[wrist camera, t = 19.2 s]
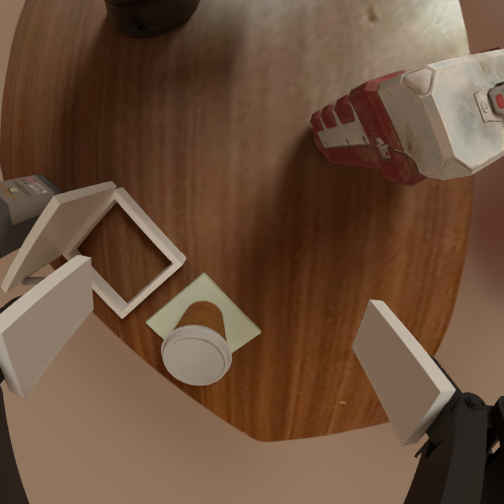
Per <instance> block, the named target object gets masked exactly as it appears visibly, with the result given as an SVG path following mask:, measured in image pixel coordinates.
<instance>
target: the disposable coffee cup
mask: <svg viewBox="0 0 504 504" xmlns="http://www.w3.org/2000/svg"><path fill="white" fill-rule="evenodd" d="M161 354H162V358H163V362H164V365H165V367H166V369H167V370H168V372H169V373H170V374H171V375H172V376H173V377H175V378H176V379H178V380H179V381H182V382H184V383H187V384H190V385H198V386H202V385H209V384H212V383H214V382H216V381H218V380H219V379H221V378H222V377H223V375H224V374H225V373H226V372H227V371H228V369H229V367H230V365H231V361H232V354H231V350H230V348H229V345H228V343H227V340H226V334H225V327H224V321H223V314H222V312H221V310H220V309H219V308H218V306H216V305H215V304H213V303H211V302H208V301H197V302H194V303H192V304H191V305H190V306H189V307H188V308H187V310H186V311H185V313H184V314H183V316H182V317H181V319H180V320H179V322H178V324H177V325H176V327H175V328H174V330H173V331H172V332H170V333H169V334H168V335H167V336H166V337H165V339H164V341H163V343H162V347H161Z"/></svg>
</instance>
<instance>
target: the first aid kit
mask: <svg viewBox="0 0 504 504" xmlns="http://www.w3.org/2000/svg"><path fill="white" fill-rule="evenodd" d="M309 124H310V126H311V128H312V129H311V131H312V133H313V139H314V141H315V143H316V145H317V147H318V149H319V151H320V152H321V153H323V155H324V157H325V158H326V159H327V160H328V162H329V163H331V164H336V165H346V166H355V167H364V168H372V169H380V170H381V171H382V173H383V176H384V178H385V179H386V180H388V181H390V182H393V183H399V184H404V185H409V186H413V185H415V184H417V183H419V182H421V181H423V180H424V179H426V178H428V177H431V178H436V179H441V180H447V179H452V178H458V177H464V176H470V175H472V174H474V173H476V172H477V171H479V170H481V169H482V168H484V167H485V166H487V165H489V164H491V163H492V162H494V161H496V160H497V159H499V158H500V157H502V156H504V47H498V48H494V49H490V50H487V51H483V52H480V53H479V54H474V55H470V54H469V55H464V56H460V57H456V58H451V59H447V60H443V61H440V62H436V63H432V64H428V65H425V66H422V67H419V68H416V69H414V70H411V71H408V72H406V71H404V70H401V71H397V72H394V73H391V74H388V75H385V76H382V77H379V78H376V79H373V80H370V81H367V82H366V83H364V84H362V85H360V86H358V87H356V88H354V89H352V90H351V91H350V94H348V95H345V96H344V97H342V98H340V99H338V100H337V101H336V102H334V103H332V104H329V105H327V106H326V107H324V108H323V109H322V110H319V111H317V112H315V113H314V114H312V117H311V120H310V122H309Z"/></svg>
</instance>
